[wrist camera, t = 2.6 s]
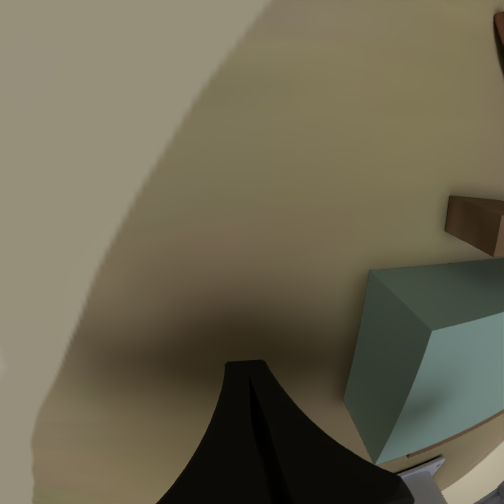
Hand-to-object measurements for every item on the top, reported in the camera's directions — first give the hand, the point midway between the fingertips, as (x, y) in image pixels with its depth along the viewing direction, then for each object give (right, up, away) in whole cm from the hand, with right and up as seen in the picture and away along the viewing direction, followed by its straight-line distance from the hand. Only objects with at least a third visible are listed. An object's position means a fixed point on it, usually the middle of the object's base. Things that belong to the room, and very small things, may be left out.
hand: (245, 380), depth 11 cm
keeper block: (+9, +1, +3) cm, 10 cm away
